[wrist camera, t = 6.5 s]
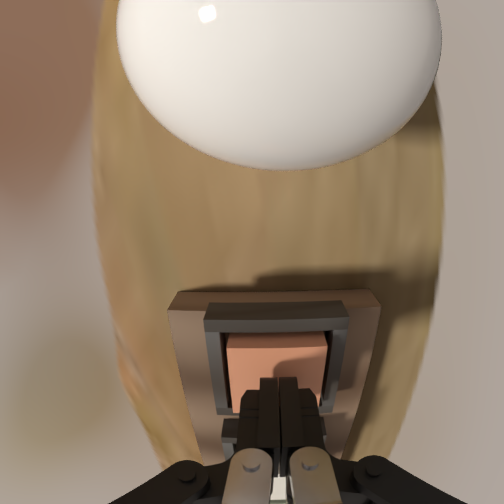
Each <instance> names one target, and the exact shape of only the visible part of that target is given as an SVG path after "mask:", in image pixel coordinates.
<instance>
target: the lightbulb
mask: <svg viewBox="0 0 504 504" xmlns="http://www.w3.org/2000/svg"><path fill="white" fill-rule="evenodd" d="M116 37H117V46H118V51H119V55H120V59H121V63H122V66H123V69H124V71H125V74H126V76H127V79H128V81H129V83H130V85H131V87H132V88H133V90H134V92H135V94H136V95H137V97H138V98H139V100H140V101H141V103H142V104H143V105H144V107H145V108H146V109H147V110H148V112H149V113H150V114H151V115H152V116H153V117H154V118H155V119H156V120H157V121H158V122H159V123H160V124H161V125H162V126H163V127H164V128H165V129H166V130H168V131H169V132H170V133H171V134H173V135H174V136H175V137H177V138H178V139H180V140H181V141H183V142H184V143H186V144H187V145H189V146H191V147H192V148H194V149H196V150H198V151H200V152H202V153H204V154H206V155H208V156H211V157H213V158H216V159H218V160H221V161H224V162H227V163H230V164H234V165H238V166H242V167H246V168H252V169H258V170H267V171H304V170H312V169H319V168H324V167H328V166H332V165H336V164H339V163H342V162H345V161H348V160H351V159H353V158H356V157H358V156H360V155H362V154H365V153H367V152H369V151H370V150H372V149H374V148H376V147H377V146H379V145H381V144H382V143H384V142H385V141H387V140H388V139H389V138H391V137H392V136H393V135H395V134H396V133H397V132H398V131H399V130H400V129H401V128H402V127H403V126H404V125H406V124H407V122H408V121H409V120H410V119H411V118H412V117H413V116H414V114H415V113H416V112H417V111H418V109H419V108H420V106H421V105H422V103H423V102H424V100H425V98H426V97H427V95H428V93H429V91H430V89H431V86H432V84H433V82H434V79H435V76H436V73H437V70H438V65H439V61H440V55H441V45H442V30H441V21H440V15H439V10H438V6H437V3H436V0H119V3H118V9H117V17H116Z"/></svg>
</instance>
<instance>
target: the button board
mask: <svg viewBox="0 0 504 504" xmlns="http://www.w3.org/2000/svg"><path fill="white" fill-rule="evenodd" d="M167 312H168V317H169V323H170V328H171V334H172V339H173V344H174V349H175V354H176V359H177V363H178V368H179V372H180V377H181V381H182V385H183V390H184V394H185V398H186V402H187V406H188V410H189V414H190V418H191V421H192V425H193V429H194V432H195V436H196V439H197V443H198V446H199V450H200V453H201V456H202V459H203V463H204V466H209V465H214V464H219V463H222V462H224V461H226V460H228V459H229V458H230V457H231V456H232V455H233V454H234V452H235V450H236V442H237V432H238V422H239V413H233V407H232V398H231V389H230V379H229V369H228V359H227V343H228V337H229V333H268V332H306V331H323V333H324V336H325V339H326V343H327V346H328V347H327V354H326V362H325V369H324V375H323V382H322V388H321V395H320V401H319V406H318V409H319V416H320V421H321V427H322V432H323V439H324V444H325V448H326V450H327V451H328V452H329V453H330V454H331V455H332V456H334V457H336V458H338V459H341V456H342V454H343V451H344V448H345V445H346V442H347V440H348V437H349V434H350V431H351V428H352V425H353V421H354V418H355V415H356V412H357V409H358V405H359V402H360V398H361V395H362V391H363V388H364V384H365V380H366V376H367V372H368V368H369V364H370V360H371V356H372V351H373V347H374V342H375V338H376V333H377V328H378V323H379V318H380V312H381V305H380V304H379V302H378V301H377V299H376V298H375V296H374V295H373V294H372V292H371V291H370V289H348V290H320V291H281V292H178V293H177V294H176V296H175V298H174V299H173V301H172V303H171V304H170V306H169V308H168V310H167Z"/></svg>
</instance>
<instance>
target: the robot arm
mask: <svg viewBox="0 0 504 504" xmlns="http://www.w3.org/2000/svg"><path fill="white" fill-rule="evenodd" d="M278 470H280V477H286V490H285V497H286V504H467V503H465V502H463V501H460V500H459V499H457V498H455V497H453V496H451V495H448V494H447V493H445V492H443V491H441V490H439V489H437V488H435V487H433V486H432V485H430V484H428V483H426V482H424V481H423V480H421V479H419V478H417V477H416V476H414V475H412V474H410V473H409V472H407V471H405V470H404V469H402V468H400V467H398V466H397V465H395V464H394V463H392V462H390V461H389V460H387V459H386V458H384V457H381V456H376V455H372V456H367V457H364V458H362V459H361V460H359V461H358V462H355V461H347V460H341V459H338V458H336V457H334V456H332V455H331V454H330V453H329V452H328V451H327V450H326V448H325V444H324V439H323V432H322V427H321V421H320V416H319V409H318V403H317V398H316V396H315V394H314V393H313V392H312V390H311V389H310V388H302V389H298V382H297V377H279V386H278V377H260V390H246V392H245V393H244V394H243V396H242V397H241V401H240V412H239V422H238V432H237V442H236V450H235V452H234V454H233V455H232V456H231V457H230V458H229V459H228V460H226V461H224V462H222V463H219V464H214V465H209V466H203V465H201V464H200V463H198V462H195V461H191V460H184V461H179V462H177V463H175V464H173V465H172V466H170V467H169V468H167V469H166V470H164V471H163V472H161V473H159V474H158V475H156V476H155V477H153V478H152V479H150V480H148V481H147V482H145V483H144V484H142V485H140V486H139V487H137V488H135V489H134V490H132V491H130V492H129V493H127V494H125V495H123V496H121V497H120V498H118V499H116V500H114V501H112V502H111V503H109V504H270V499H271V494H272V492H273V482H274V477H278Z"/></svg>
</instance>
